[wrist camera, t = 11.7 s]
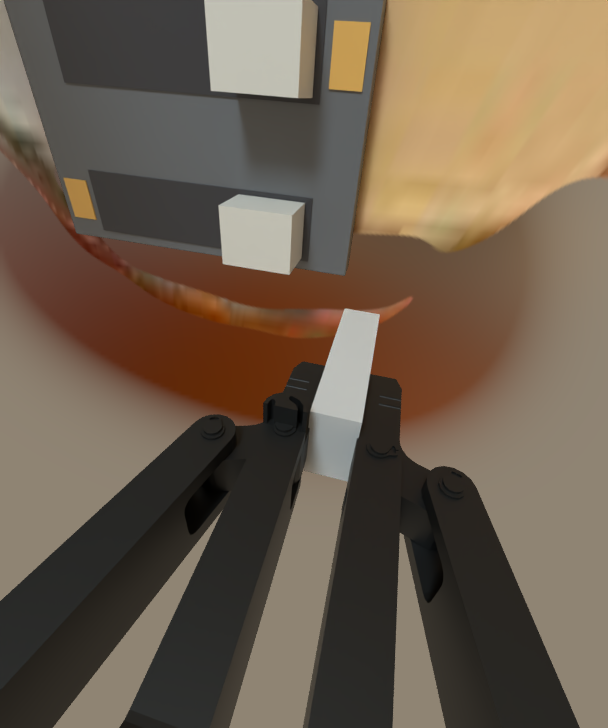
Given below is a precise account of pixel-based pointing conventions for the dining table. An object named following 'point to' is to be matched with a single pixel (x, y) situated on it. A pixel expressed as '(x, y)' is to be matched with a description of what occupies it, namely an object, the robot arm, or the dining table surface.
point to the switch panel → (195, 122)
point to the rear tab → (261, 233)
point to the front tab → (262, 46)
